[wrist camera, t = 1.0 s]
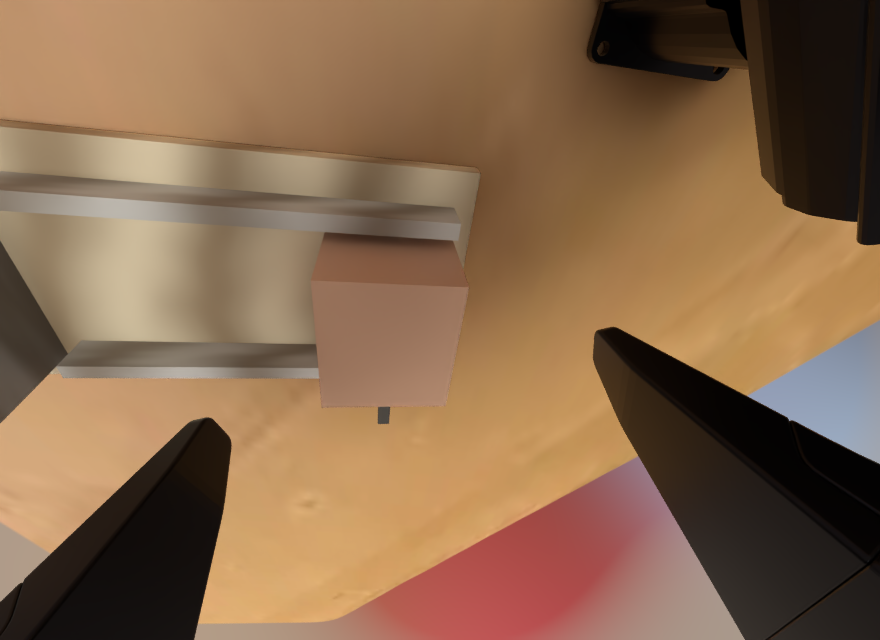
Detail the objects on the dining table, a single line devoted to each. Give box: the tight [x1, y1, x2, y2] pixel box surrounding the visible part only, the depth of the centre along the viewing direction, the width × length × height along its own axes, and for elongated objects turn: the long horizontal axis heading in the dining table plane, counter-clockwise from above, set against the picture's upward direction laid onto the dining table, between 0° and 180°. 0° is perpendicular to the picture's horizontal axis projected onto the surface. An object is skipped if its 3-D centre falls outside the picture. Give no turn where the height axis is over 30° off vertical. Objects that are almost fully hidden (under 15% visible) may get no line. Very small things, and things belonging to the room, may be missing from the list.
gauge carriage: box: [311, 232, 469, 424], centre depth 19 cm, size 6×10×5 cm, turn 173°
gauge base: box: [0, 120, 481, 423], centre depth 17 cm, size 24×13×7 cm, turn 83°
